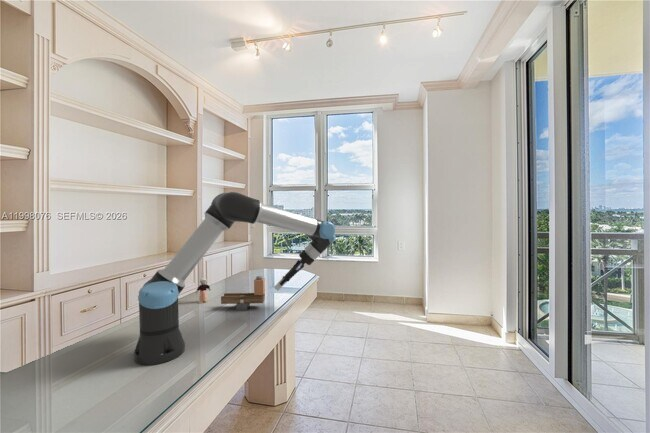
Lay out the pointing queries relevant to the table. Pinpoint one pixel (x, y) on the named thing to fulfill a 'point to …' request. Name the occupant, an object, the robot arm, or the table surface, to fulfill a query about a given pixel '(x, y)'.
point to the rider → (259, 285)
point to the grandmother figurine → (203, 290)
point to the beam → (242, 299)
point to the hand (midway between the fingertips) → (276, 288)
